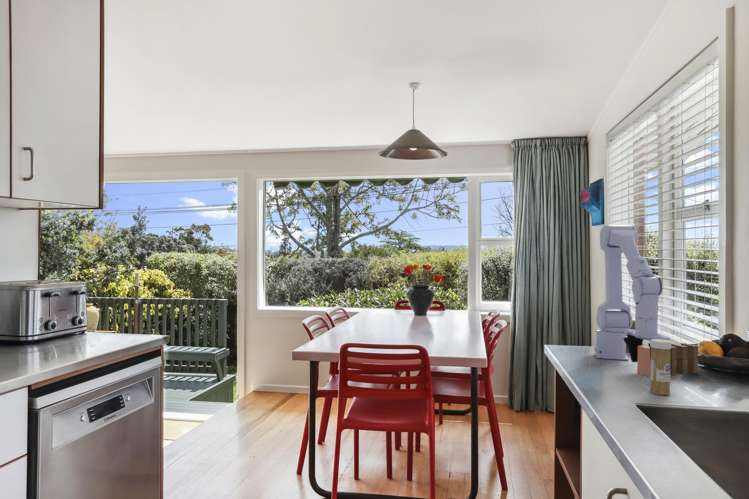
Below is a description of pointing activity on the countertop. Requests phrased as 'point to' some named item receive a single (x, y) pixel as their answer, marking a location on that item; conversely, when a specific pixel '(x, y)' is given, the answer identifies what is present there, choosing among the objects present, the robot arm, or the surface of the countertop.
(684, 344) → the domino
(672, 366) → the domino
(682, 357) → the domino
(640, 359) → the domino
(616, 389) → the countertop surface
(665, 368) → the toothpick jar
